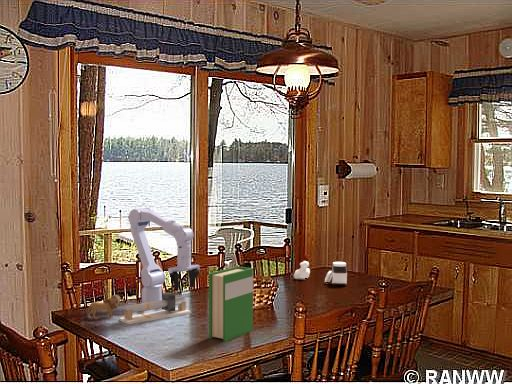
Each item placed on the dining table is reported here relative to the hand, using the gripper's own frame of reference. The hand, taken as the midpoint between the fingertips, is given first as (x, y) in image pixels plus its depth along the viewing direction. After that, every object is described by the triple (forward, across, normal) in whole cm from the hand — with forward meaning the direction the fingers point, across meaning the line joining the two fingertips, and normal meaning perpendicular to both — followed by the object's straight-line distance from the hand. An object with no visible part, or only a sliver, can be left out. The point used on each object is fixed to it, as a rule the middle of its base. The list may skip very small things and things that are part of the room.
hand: (184, 287), depth 259 cm
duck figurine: (+11, +90, +23) cm, 93 cm away
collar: (+8, -8, 0) cm, 11 cm away
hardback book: (+11, -3, -39) cm, 40 cm away
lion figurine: (+11, -31, +12) cm, 35 cm away
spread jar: (+11, +94, +2) cm, 95 cm away
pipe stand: (+10, -14, 0) cm, 17 cm away
